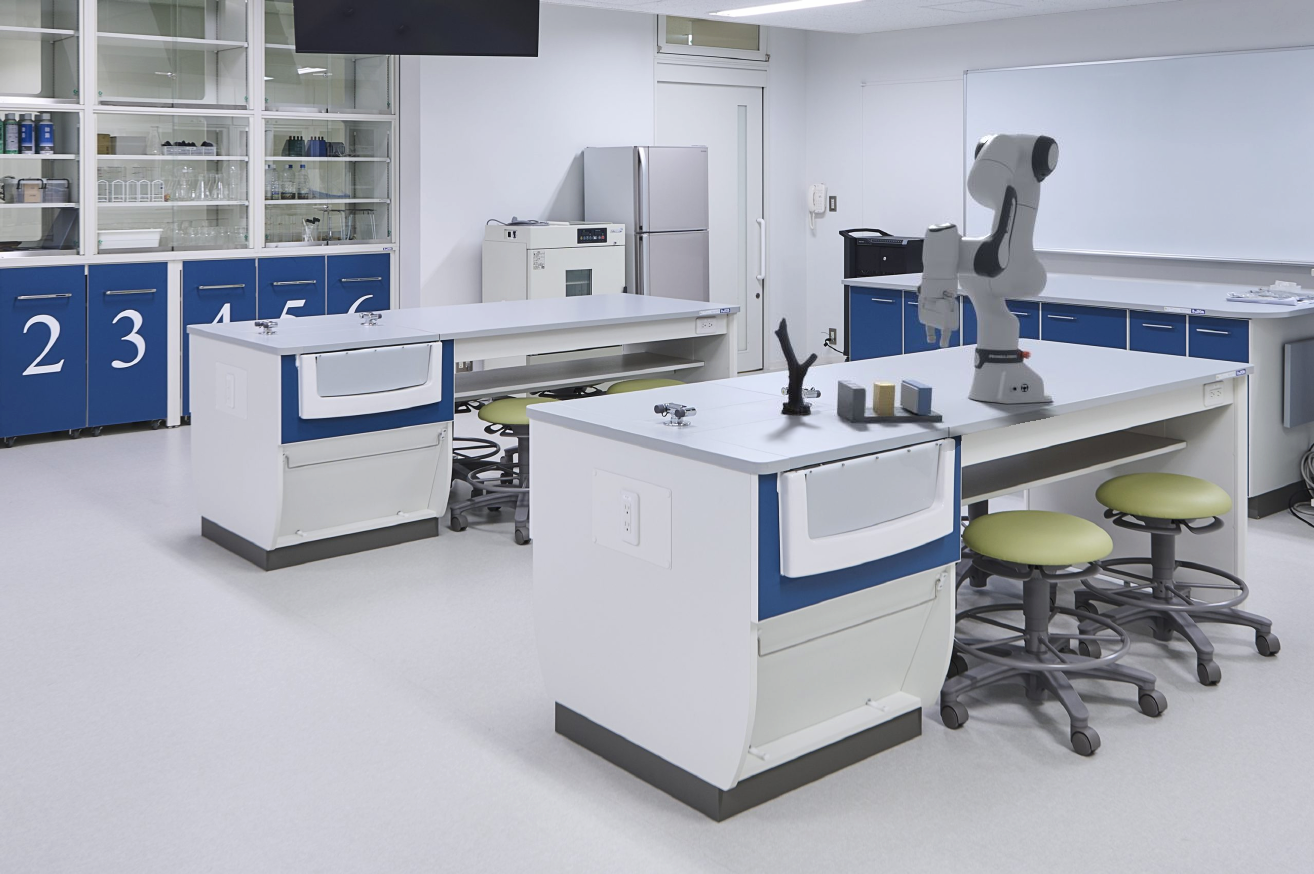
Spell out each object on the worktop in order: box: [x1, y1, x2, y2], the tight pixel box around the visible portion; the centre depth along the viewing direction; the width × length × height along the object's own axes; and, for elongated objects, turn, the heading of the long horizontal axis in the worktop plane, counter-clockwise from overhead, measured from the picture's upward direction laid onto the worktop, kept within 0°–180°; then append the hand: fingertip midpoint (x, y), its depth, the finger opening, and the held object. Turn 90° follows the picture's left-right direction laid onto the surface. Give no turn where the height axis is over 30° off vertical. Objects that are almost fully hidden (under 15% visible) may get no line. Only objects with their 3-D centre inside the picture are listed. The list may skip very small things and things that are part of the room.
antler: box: [774, 317, 819, 416], centre depth 306 cm, size 12×8×25 cm
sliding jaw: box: [899, 379, 933, 415], centre depth 304 cm, size 4×14×7 cm, turn 7°
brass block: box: [872, 382, 896, 413], centre depth 303 cm, size 4×5×7 cm
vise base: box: [836, 379, 943, 424], centre depth 303 cm, size 23×14×8 cm, turn 97°
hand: (937, 344), depth 302 cm, fingers open, 8 cm apart
